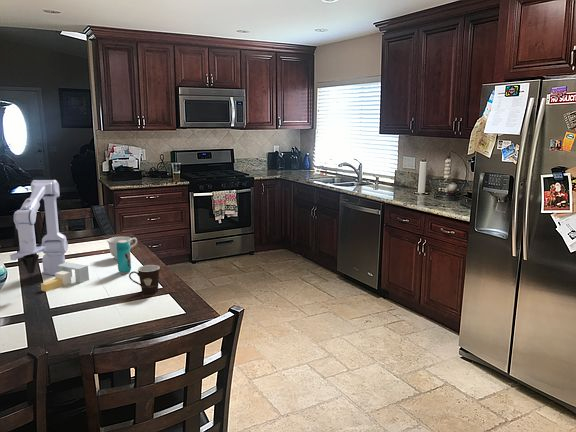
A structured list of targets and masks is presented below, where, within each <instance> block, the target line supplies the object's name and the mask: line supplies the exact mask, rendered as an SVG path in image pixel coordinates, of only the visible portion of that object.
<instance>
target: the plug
mask: <svg viewBox="0 0 576 432" xmlns="http://www.w3.org/2000/svg"><path fill="white" fill-rule="evenodd" d="M54 276H55V278H53V279H50V280H48V281H44V282H42V283H40V288H41V291H42V292H46V293H47V292H50V291H53V290H55V289H57V288H60V287H62V286H67V285H70V284H72V277H71V272H68V271H60V272H57V273H55V275H54Z"/></svg>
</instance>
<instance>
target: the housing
mask: <svg viewBox="0 0 576 432" xmlns="http://www.w3.org/2000/svg"><path fill="white" fill-rule="evenodd" d="M72 270H74V276H75V277H74V278H75V283H76V284H77V283H78V284H81V283H84V282H87V281H89V280H90V277H89V275H90V274H89V265H87V264H81V263H80V264H79V263H74V262H68V261H67V262H66V261H65V263H63V264H60V265H58V272H60V271H68V272H71V278H72V277H73V272H72Z"/></svg>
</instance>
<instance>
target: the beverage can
mask: <svg viewBox="0 0 576 432" xmlns="http://www.w3.org/2000/svg"><path fill="white" fill-rule="evenodd" d="M116 246H117V269H118V272H119V274H121V275H122V274H123V275H125V274H130V273H131V270H132V261H131V260H132V258H131V249H130V246H131V243H130V244H129V240H119V241H117V244H116Z"/></svg>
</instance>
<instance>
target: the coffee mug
mask: <svg viewBox="0 0 576 432" xmlns="http://www.w3.org/2000/svg"><path fill="white" fill-rule="evenodd" d="M128 274H129V275H128V277H129V280H130V281H132V282H133V283H135V284H137V285H139V287H140V288H141V293H142V294H144V295H153V294H156V293H158V291H159V285H160V284H159V281H160V266H159V265H156V264H147V265H143V266H140V267H139V266H138V268H137V271H130V272H129V273H128ZM133 274H137V276H138V277H139V282H140V283H139V282H138V281H136V280H134V278H132V276H131V275H133Z"/></svg>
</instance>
